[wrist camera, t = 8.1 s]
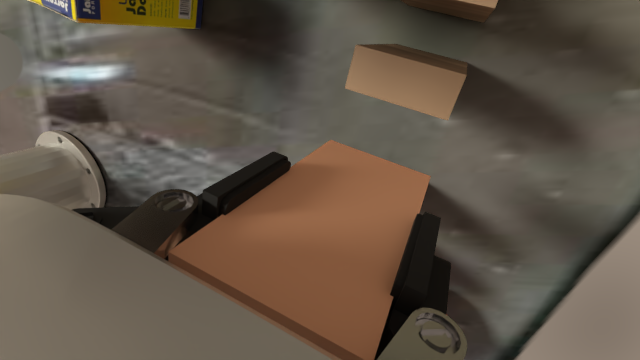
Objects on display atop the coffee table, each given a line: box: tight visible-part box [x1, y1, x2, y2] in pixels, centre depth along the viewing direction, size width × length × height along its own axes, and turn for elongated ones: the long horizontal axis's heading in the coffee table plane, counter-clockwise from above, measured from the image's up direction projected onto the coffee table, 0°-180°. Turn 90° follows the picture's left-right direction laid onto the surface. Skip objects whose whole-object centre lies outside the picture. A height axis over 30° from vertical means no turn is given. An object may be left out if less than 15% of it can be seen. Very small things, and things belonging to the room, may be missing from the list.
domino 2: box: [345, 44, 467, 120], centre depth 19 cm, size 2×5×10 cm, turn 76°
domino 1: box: [168, 140, 431, 360], centre depth 11 cm, size 2×5×10 cm, turn 77°
